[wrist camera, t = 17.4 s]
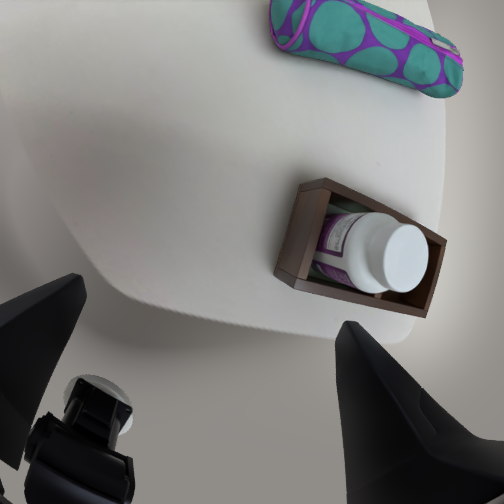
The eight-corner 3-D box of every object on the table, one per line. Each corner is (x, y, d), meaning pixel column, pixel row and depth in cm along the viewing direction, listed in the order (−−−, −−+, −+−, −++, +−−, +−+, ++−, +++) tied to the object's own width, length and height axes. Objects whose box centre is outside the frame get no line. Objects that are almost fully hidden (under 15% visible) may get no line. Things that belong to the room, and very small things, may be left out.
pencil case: (409, 52, 24) (456, 26, 15) (424, 108, 25) (481, 89, 16) (259, 9, 20) (289, -51, 10) (265, 71, 21) (306, 8, 11)
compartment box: (397, 306, 27) (425, 318, 22) (273, 275, 23) (293, 288, 19) (417, 236, 27) (447, 239, 22) (299, 183, 23) (325, 176, 18)
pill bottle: (361, 261, 24) (439, 281, 15) (313, 284, 23) (383, 321, 14) (346, 205, 23) (427, 201, 14) (294, 225, 22) (365, 230, 13)
